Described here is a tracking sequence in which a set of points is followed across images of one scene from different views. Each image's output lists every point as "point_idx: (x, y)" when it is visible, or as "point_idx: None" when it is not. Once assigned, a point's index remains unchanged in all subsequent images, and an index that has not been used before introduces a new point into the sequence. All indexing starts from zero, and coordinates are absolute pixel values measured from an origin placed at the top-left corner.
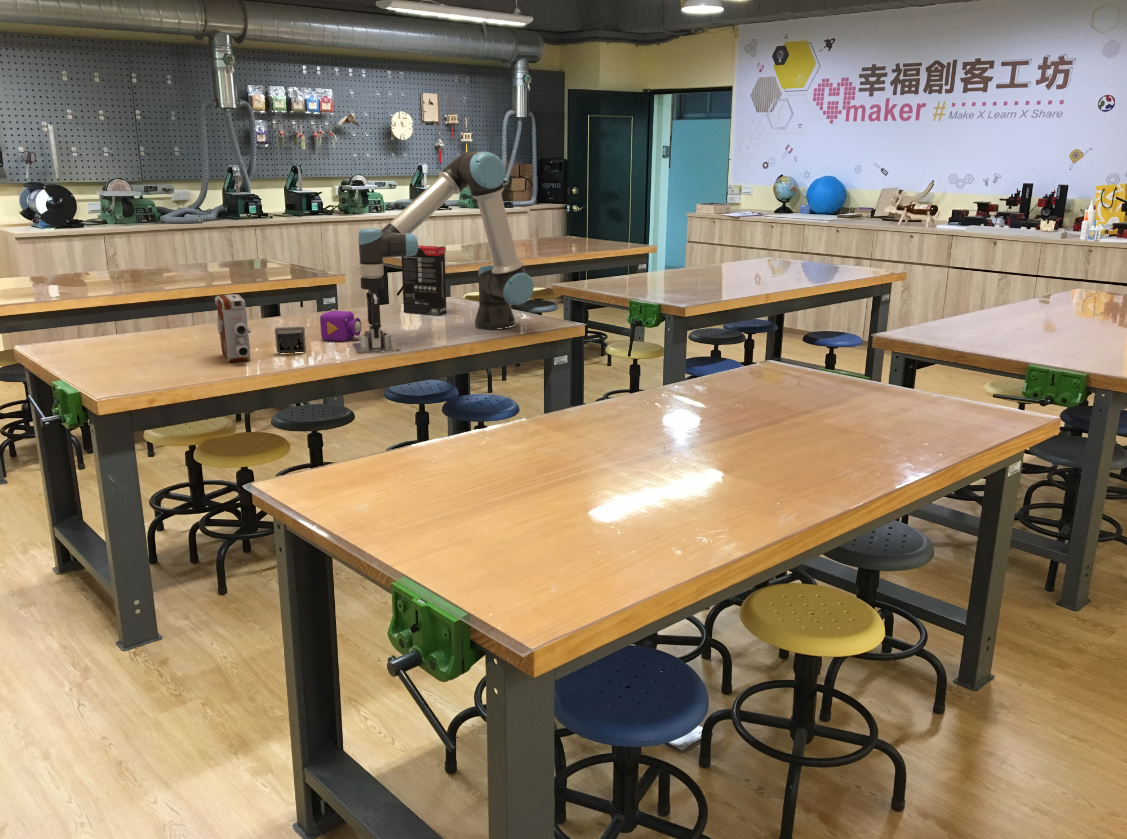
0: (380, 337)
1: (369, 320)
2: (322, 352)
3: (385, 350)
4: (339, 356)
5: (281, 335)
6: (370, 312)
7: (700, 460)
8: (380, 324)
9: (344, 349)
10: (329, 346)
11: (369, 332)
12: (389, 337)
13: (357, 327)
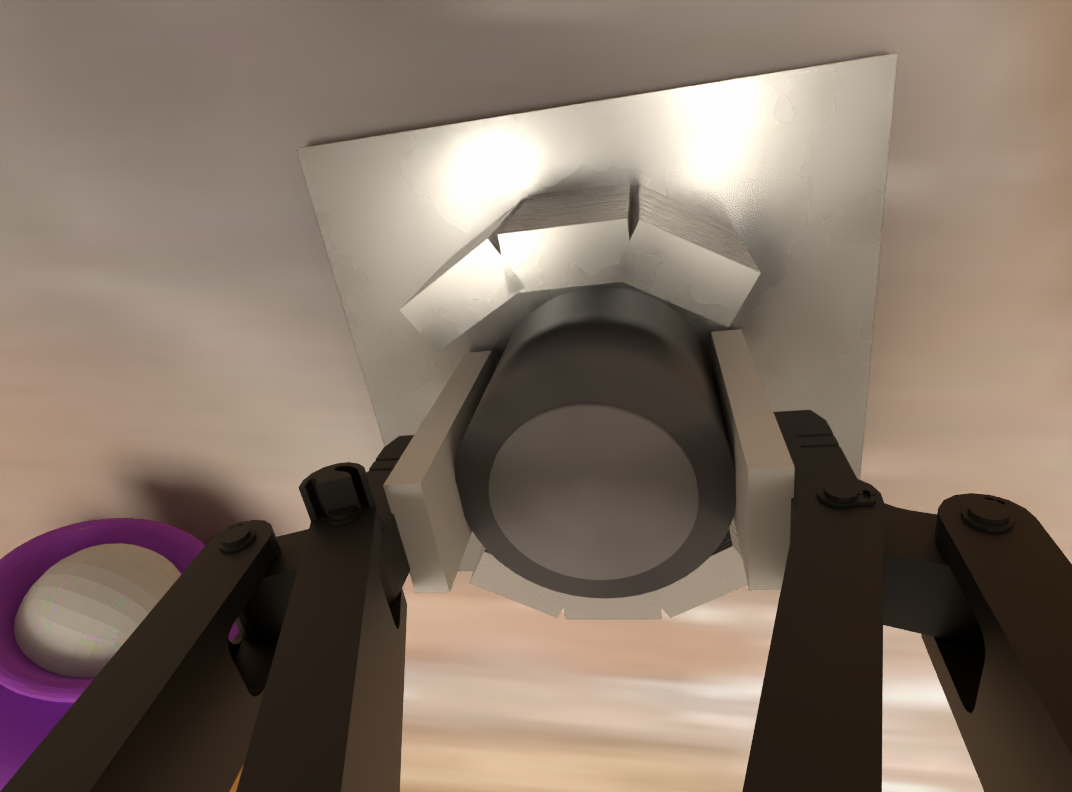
0: (699, 378)
1: (402, 638)
2: (682, 757)
3: (875, 272)
4: (901, 680)
5: None
6: (394, 780)
7: None
8: (1052, 541)
9: (603, 625)
10: (461, 701)
11: (667, 554)
12: (708, 240)
13: (155, 602)
